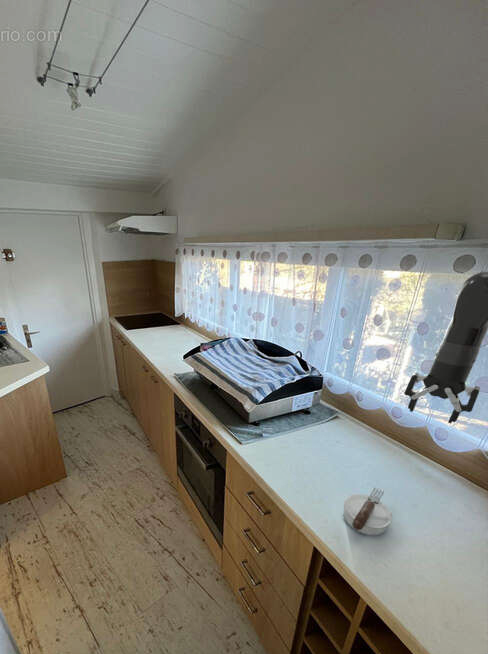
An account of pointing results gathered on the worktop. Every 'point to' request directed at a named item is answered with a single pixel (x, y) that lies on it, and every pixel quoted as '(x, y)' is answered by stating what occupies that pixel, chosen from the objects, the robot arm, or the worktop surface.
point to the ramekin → (377, 519)
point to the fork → (366, 510)
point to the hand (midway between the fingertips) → (430, 416)
